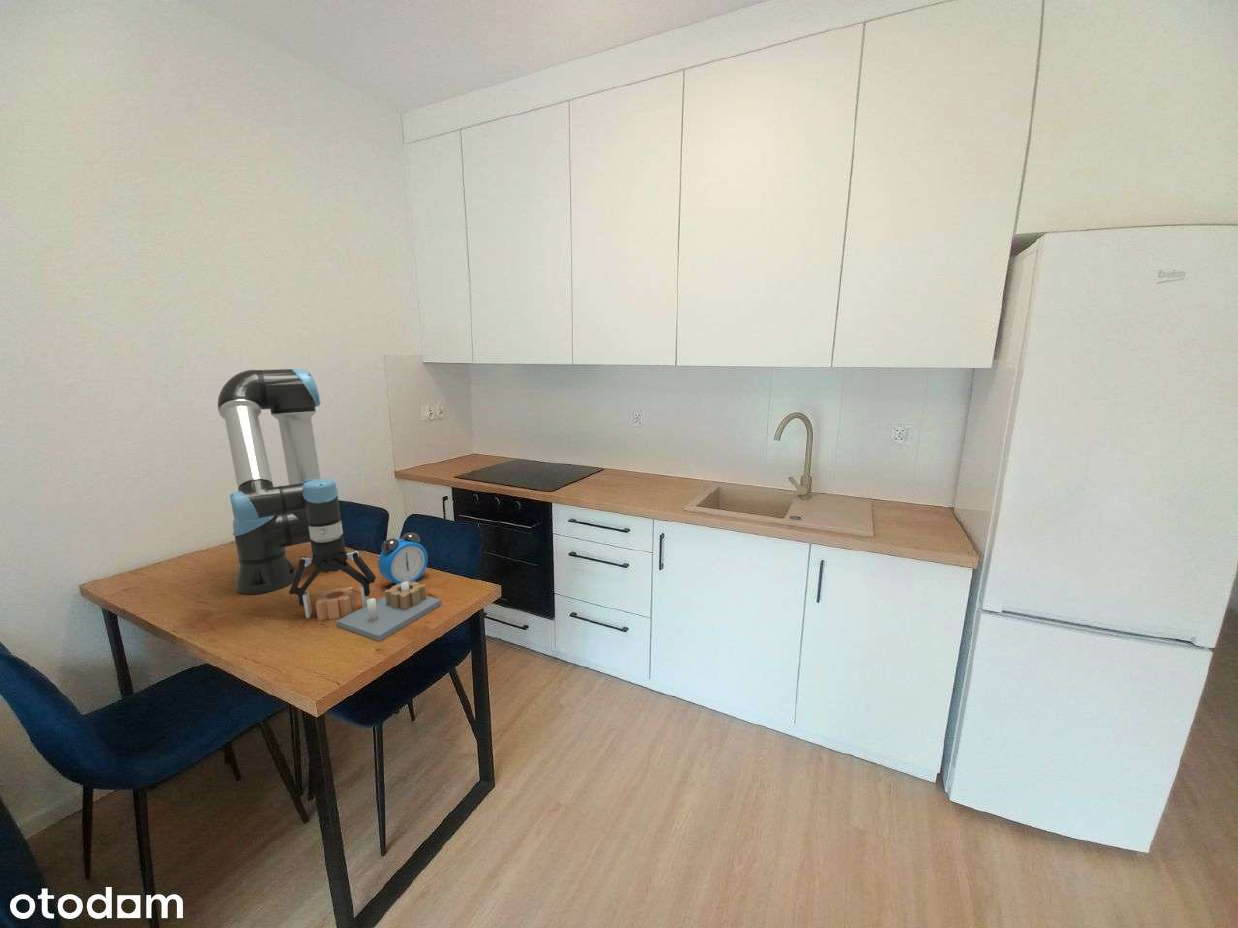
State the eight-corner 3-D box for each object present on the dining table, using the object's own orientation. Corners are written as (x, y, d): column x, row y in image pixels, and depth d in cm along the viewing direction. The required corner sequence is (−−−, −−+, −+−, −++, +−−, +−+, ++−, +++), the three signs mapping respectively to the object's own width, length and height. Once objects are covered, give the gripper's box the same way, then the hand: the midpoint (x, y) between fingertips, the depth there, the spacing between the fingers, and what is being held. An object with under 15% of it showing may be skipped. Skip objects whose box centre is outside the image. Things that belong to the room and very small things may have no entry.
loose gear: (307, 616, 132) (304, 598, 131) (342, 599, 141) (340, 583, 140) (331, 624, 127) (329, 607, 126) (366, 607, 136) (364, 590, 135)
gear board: (337, 626, 127) (333, 601, 125) (400, 593, 144) (398, 571, 143) (379, 641, 120) (376, 615, 118) (441, 604, 137) (439, 581, 136)
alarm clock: (390, 592, 145) (385, 544, 141) (379, 586, 148) (374, 540, 145) (430, 576, 155) (425, 531, 152) (419, 571, 159) (414, 527, 155)
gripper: (266, 549, 122) (280, 626, 126) (377, 536, 130) (386, 609, 134) (276, 539, 129) (288, 612, 133) (380, 527, 137) (389, 597, 141)
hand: (337, 611), depth 134 cm, fingers open, 13 cm apart
